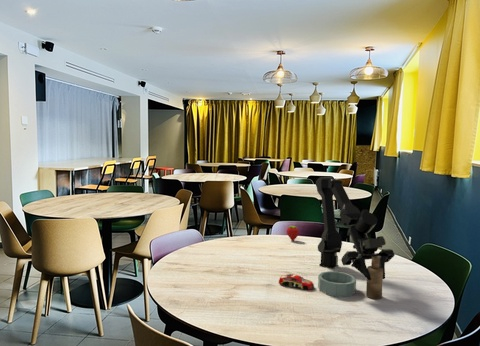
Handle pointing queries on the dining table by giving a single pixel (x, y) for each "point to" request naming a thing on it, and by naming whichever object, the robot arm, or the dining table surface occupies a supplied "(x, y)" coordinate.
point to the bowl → (336, 283)
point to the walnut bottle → (375, 279)
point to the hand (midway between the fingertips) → (377, 279)
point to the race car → (296, 282)
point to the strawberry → (292, 232)
